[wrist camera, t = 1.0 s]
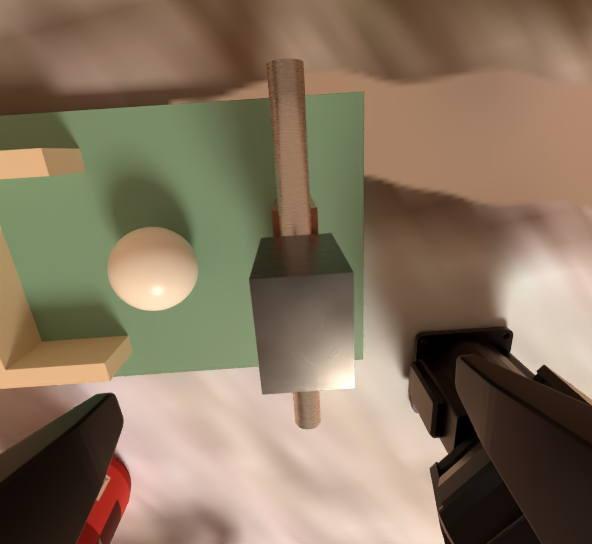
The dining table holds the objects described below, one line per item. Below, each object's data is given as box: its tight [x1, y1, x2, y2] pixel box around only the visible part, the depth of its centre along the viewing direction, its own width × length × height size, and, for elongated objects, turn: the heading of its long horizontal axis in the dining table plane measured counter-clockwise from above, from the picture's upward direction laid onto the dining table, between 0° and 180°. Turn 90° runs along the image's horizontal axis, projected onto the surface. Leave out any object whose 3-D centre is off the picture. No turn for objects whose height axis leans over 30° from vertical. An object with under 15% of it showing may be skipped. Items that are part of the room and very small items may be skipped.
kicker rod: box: [249, 59, 355, 429], centre depth 15 cm, size 3×17×10 cm, turn 3°
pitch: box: [0, 92, 364, 389], centre depth 19 cm, size 22×16×4 cm
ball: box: [107, 227, 198, 311], centre depth 18 cm, size 4×4×4 cm
